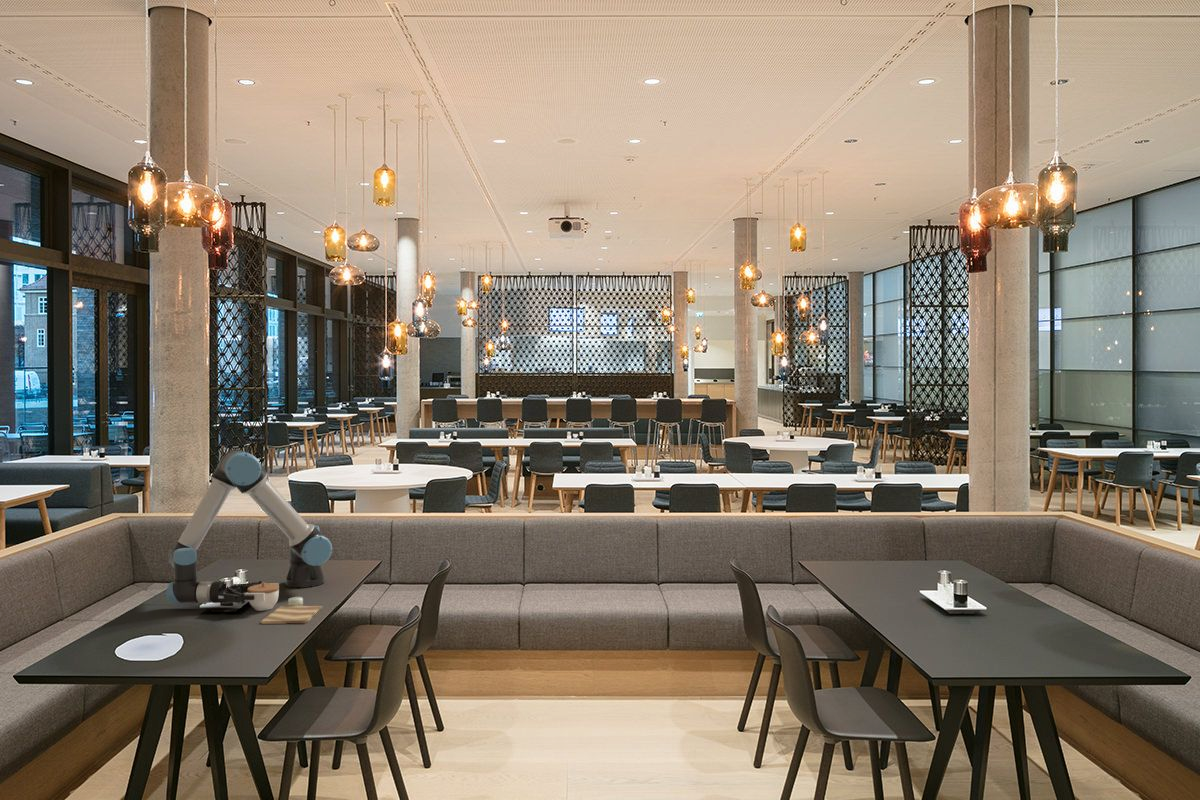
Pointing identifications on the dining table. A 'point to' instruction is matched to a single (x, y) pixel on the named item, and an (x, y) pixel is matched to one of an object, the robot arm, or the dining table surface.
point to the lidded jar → (270, 596)
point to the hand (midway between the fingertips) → (271, 591)
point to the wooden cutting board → (291, 614)
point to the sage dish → (295, 601)
